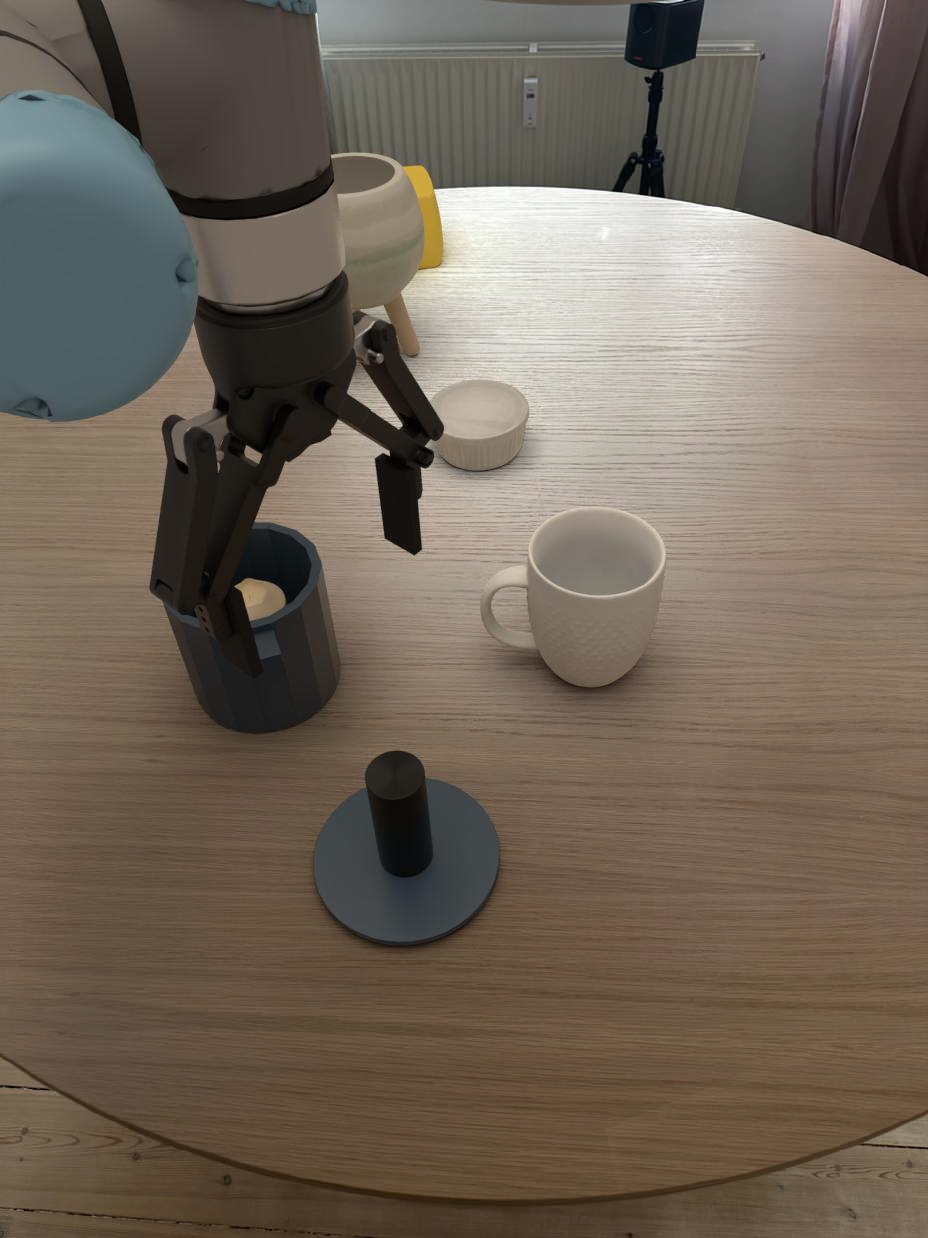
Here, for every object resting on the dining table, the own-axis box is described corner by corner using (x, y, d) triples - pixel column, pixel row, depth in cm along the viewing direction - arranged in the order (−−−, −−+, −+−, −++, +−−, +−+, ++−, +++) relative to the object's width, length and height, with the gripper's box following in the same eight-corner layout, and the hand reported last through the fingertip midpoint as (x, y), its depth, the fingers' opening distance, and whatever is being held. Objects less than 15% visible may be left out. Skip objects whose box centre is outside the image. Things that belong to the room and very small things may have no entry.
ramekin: (446, 487, 105) (444, 447, 101) (416, 431, 112) (412, 391, 108) (544, 464, 107) (545, 423, 103) (507, 410, 114) (507, 370, 111)
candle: (238, 700, 84) (213, 619, 77) (238, 654, 88) (214, 572, 81) (302, 691, 85) (283, 609, 78) (299, 645, 89) (281, 563, 81)
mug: (480, 707, 84) (476, 597, 74) (483, 615, 91) (480, 505, 82) (657, 708, 83) (675, 598, 73) (645, 615, 90) (660, 504, 81)
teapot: (453, 281, 137) (449, 196, 129) (365, 290, 136) (355, 205, 128) (434, 220, 151) (429, 140, 143) (353, 229, 150) (344, 148, 142)
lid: (341, 977, 67) (318, 896, 59) (296, 816, 77) (271, 727, 69) (528, 911, 70) (530, 826, 62) (463, 764, 79) (458, 673, 71)
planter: (332, 316, 131) (307, 141, 115) (447, 329, 128) (438, 150, 112) (285, 380, 121) (250, 197, 105) (409, 396, 117) (393, 209, 101)
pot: (214, 776, 79) (177, 675, 71) (182, 627, 91) (147, 524, 83) (364, 731, 82) (346, 628, 73) (314, 592, 94) (293, 489, 85)
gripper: (393, 171, 54) (419, 480, 69) (-18, 364, 41) (125, 691, 56) (499, 205, 50) (502, 523, 65) (84, 428, 38) (207, 759, 53)
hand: (328, 601), depth 61 cm, fingers open, 13 cm apart
